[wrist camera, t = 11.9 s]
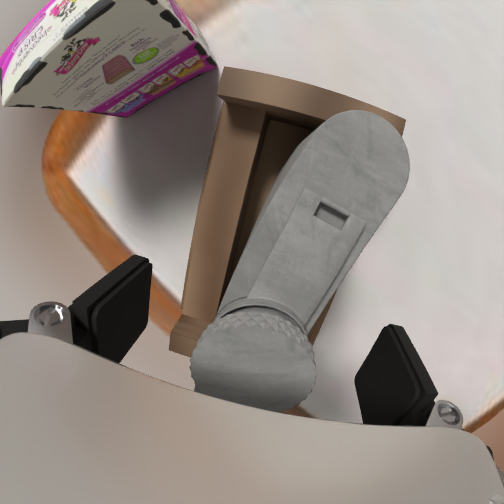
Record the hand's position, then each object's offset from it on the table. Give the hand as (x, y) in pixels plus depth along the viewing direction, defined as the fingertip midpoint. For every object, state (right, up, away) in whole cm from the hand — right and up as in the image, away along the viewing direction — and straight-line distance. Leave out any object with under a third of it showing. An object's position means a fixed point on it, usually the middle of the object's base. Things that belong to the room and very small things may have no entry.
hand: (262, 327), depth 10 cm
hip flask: (+2, +6, +16) cm, 17 cm away
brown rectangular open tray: (+2, +6, +17) cm, 18 cm away
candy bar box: (-9, +21, +13) cm, 26 cm away
